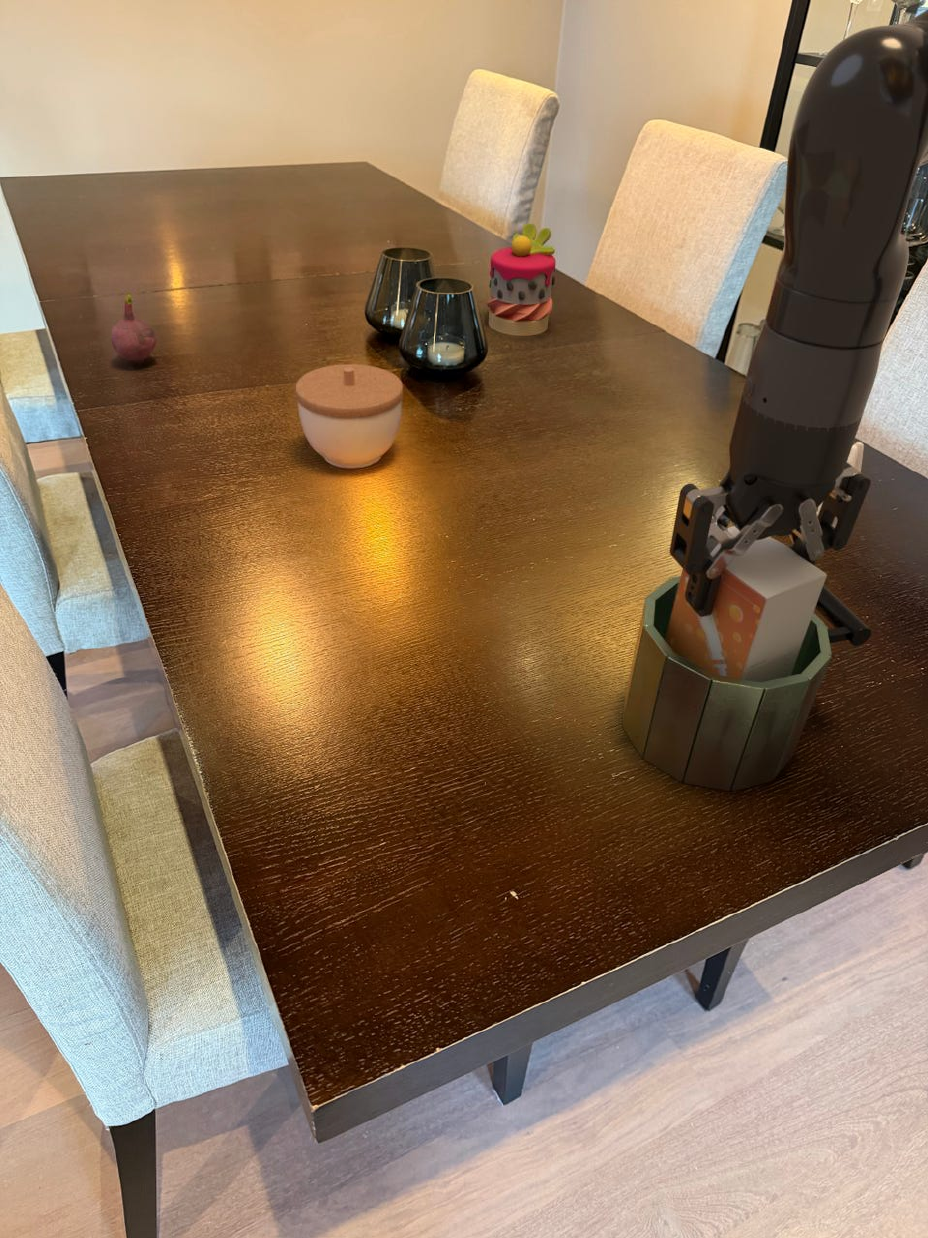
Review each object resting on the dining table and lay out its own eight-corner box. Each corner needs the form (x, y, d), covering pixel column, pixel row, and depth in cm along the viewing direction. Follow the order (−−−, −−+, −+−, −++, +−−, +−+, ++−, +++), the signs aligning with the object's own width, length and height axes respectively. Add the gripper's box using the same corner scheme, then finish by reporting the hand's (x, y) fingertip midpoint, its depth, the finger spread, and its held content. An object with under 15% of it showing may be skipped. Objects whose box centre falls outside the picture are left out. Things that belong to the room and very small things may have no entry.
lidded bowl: (414, 473, 107) (414, 387, 101) (309, 485, 104) (302, 396, 98) (391, 426, 117) (390, 344, 110) (294, 436, 114) (286, 352, 107)
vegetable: (144, 375, 126) (131, 305, 120) (107, 368, 128) (91, 298, 121) (168, 359, 131) (156, 290, 125) (132, 353, 132) (118, 284, 126)
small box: (655, 671, 74) (686, 539, 66) (712, 647, 77) (747, 518, 69) (725, 732, 69) (767, 598, 61) (783, 705, 72) (830, 572, 64)
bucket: (596, 687, 79) (768, 652, 84) (672, 806, 69) (863, 759, 73) (614, 587, 72) (800, 555, 77) (701, 703, 62) (910, 658, 67)
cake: (544, 340, 143) (554, 241, 133) (480, 331, 144) (485, 234, 135) (554, 317, 151) (564, 223, 141) (493, 310, 152) (499, 216, 143)
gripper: (737, 435, 52) (683, 649, 63) (935, 410, 56) (853, 616, 67) (675, 383, 58) (635, 588, 68) (859, 363, 62) (795, 560, 72)
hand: (743, 601), depth 67 cm, fingers closed on small box, 7 cm apart
